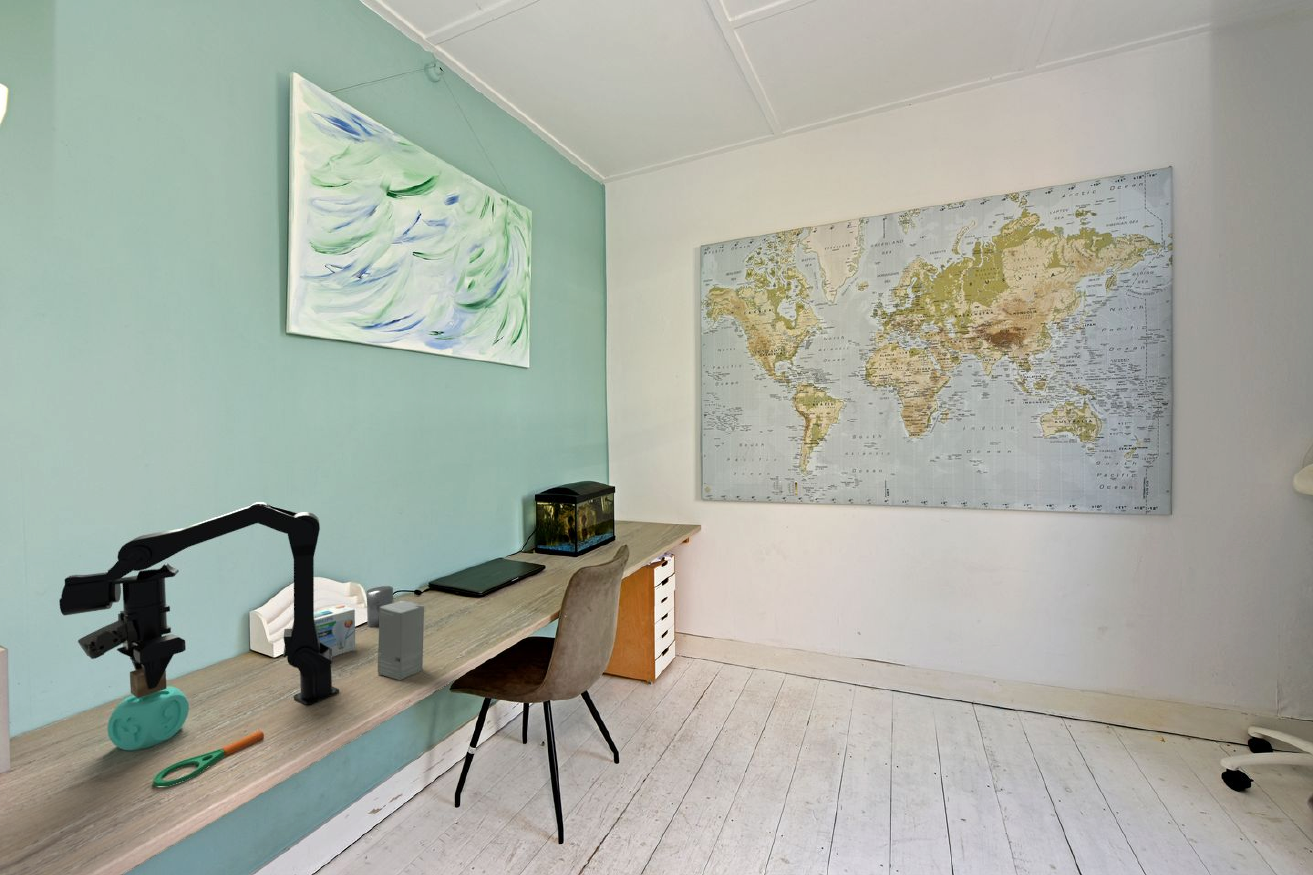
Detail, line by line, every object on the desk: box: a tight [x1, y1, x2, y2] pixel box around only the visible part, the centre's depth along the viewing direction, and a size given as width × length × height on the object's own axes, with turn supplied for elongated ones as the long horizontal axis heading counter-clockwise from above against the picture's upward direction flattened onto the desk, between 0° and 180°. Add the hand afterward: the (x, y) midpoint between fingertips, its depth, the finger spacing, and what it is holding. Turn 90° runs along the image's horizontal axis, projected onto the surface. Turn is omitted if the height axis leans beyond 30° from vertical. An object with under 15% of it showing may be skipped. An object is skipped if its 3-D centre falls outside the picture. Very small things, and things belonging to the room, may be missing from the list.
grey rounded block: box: [366, 585, 394, 628], centre depth 156 cm, size 7×7×10 cm
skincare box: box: [376, 600, 425, 681], centre depth 124 cm, size 8×7×16 cm
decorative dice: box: [107, 686, 190, 751], centre depth 99 cm, size 8×8×8 cm
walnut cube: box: [129, 668, 167, 698], centre depth 99 cm, size 4×4×4 cm
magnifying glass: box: [152, 730, 265, 787], centre depth 92 cm, size 15×6×2 cm, turn 150°
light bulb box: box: [314, 604, 356, 658], centre depth 136 cm, size 11×7×11 cm, turn 143°
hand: (148, 685), depth 99 cm, fingers closed on walnut cube, 4 cm apart
